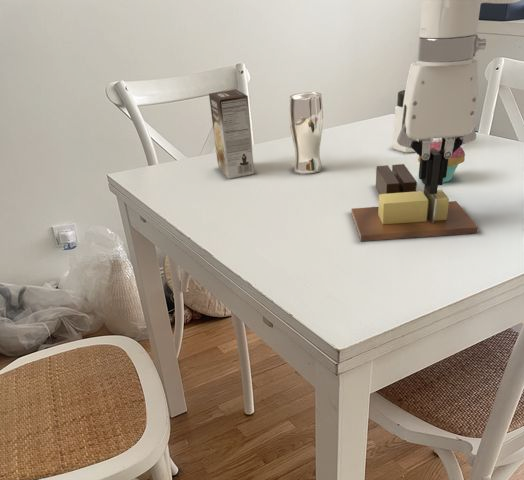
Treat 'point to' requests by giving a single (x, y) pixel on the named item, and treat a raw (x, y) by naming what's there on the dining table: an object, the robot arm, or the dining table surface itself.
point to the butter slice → (441, 206)
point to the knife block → (394, 179)
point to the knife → (433, 185)
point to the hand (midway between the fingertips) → (431, 182)
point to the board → (411, 225)
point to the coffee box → (232, 133)
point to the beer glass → (306, 130)
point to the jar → (398, 124)
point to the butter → (403, 207)
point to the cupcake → (452, 162)
